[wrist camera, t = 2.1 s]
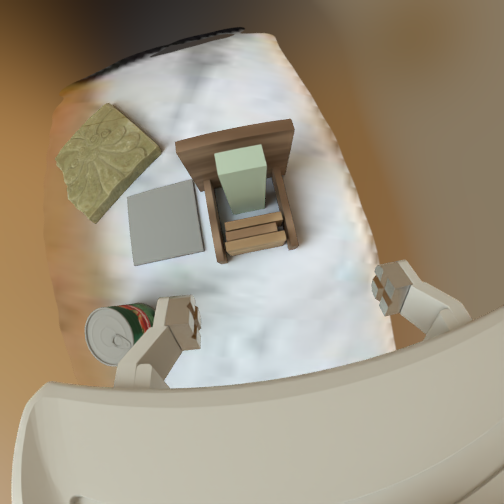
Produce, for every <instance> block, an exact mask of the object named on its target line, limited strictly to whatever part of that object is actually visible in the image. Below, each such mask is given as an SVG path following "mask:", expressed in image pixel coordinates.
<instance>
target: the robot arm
mask: <svg viewBox="0 0 504 504" xmlns="http://www.w3.org/2000/svg"><path fill="white" fill-rule="evenodd" d="M375 274H376V276H375V277H374V278H373V280H372V292H373V295H374V297H375V299H377V300H378V301H380V304H379V306H380V308H381V310H382V312H383V314H384V316H388V315H392V314H396V313H400V314H401V315H402V316H404V317H405V318H406V319H407V320H409V321H410V322H411V323H413V324H414V325H415V326H416V327H418V328H419V329H420V330H421V331H422V332H424V333H425V334H426V337H425V338H424V340H423V341H422V342H419V343H416V344H413V345H411V346H408V347H405V348H402V349H399V350H396V351H393V352H390V353H386V354H383V355H380V356H376V357H373V358H370V359H366V360H362V361H359V362H355V363H351V364H347V365H343V366H339V367H335V368H331V369H326V370H322V371H317V372H312V373H307V374H302V375H297V376H292V377H286V378H280V379H274V380H267V381H260V382H252V383H244V384H235V385H225V386H213V387H199V388H176V389H170V388H169V386H168V385H167V384H166V383H165V382H164V380H165V378H166V377H167V375H168V373H169V372H170V370H171V369H172V367H173V365H174V364H175V362H176V361H177V359H178V358H179V356H180V354H181V353H182V351H184V350H194V349H201V335H200V333H199V330H200V329H201V316H200V312H199V309H198V307H197V306H195V298H194V296H193V295H182V296H171V297H162V298H159V299H158V301H157V306H156V311H155V317H154V322H153V327H150V328H149V329H148V330H147V331H146V332H145V333H144V334H143V335H142V337H141V338H140V339H139V340H138V341H137V342H136V343H135V345H134V346H133V347H132V348H131V349H130V350H129V351H128V352H127V354H126V355H125V356H124V357H123V358H122V359H121V360H120V362H119V363H118V366H117V371H116V377H115V382H114V388H110V387H96V386H85V385H76V384H68V383H61V382H53V381H52V382H47V383H46V384H45V385H44V386H42V387H41V388H40V389H39V390H38V391H37V392H36V393H35V394H34V395H33V396H32V397H31V399H30V400H29V401H28V402H27V404H26V406H25V408H24V411H23V414H22V417H21V421H20V425H19V429H18V433H17V438H16V444H15V450H14V457H13V467H12V504H504V305H502V306H500V307H498V308H496V309H495V310H493V311H491V312H489V313H487V314H485V315H483V316H481V317H479V318H477V319H474V320H472V318H471V317H470V315H469V313H468V312H467V310H466V309H465V307H464V306H463V304H462V303H461V302H460V301H458V300H456V299H454V298H453V297H451V296H449V295H448V294H446V293H444V292H442V291H440V290H439V289H437V288H435V287H433V286H431V285H429V284H428V283H426V282H422V281H421V280H420V279H419V277H418V276H417V274H416V273H415V271H414V270H413V269H412V267H411V266H410V265H409V263H408V262H407V261H406V260H400V261H396V262H391V263H387V264H382V265H377V267H376V268H375Z"/></svg>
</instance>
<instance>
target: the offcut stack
mask: <svg viewBox="0 0 504 504" xmlns="http://www.w3.org/2000/svg"><path fill="white" fill-rule="evenodd" d="M282 220H283V218H282V214H281V211H280V212H275V213H270V214H265V215H260V216H255V217H250V218H245V219H240V220H235V221H230V222H226V223H225V229H226V233H225V234H226V240H227V242H225V246H226V251H227V252H228V253H229V254H230V255H231V256H235V255H239V254H244V253H249V252H254V251H259V250H264V249H269V248H274V247H278V246H283V244H284V242H285V241H286V235H285V231H284V230H283V231H278V230H277V227H280V226H281V223H282ZM277 231H278V232H277Z"/></svg>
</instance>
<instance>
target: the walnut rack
mask: <svg viewBox="0 0 504 504" xmlns="http://www.w3.org/2000/svg"><path fill="white" fill-rule="evenodd" d="M294 130H295V129H294V126H293V123H292V120H291V119H285V120H278V121H271V122H265V123H259V124H253V125H247V126H242V127H237V128H232V129H227V130H222V131H217V132H213V133H209V134H204V135H200V136H196V137H192V138H188V139H184V140H181V141H177V142H175V146H176V153H177V155H178V157H179V158H180V160H181V161H182V163H183V165H184V166H185V168H186V169H187V171H188V173H189V174H190V176H191V177H192V179H193V181H194V182H195V184H196V185H197V187H198V189H199V190H200V192H202V191H205V196H206V202H207V208H208V214H209V220H210V225H211V231H212V237H213V242H214V248H215V253H216V258H217V262H218V263H220V264H225V263H228V262H227V257H226V252H225V247H224V241H223V236H222V231H221V225H220V220H219V214H218V209H217V203H216V197H215V192H214V189H215V188H220V187H222V184H221V182H220V179H219V177H218V173H217V167H216V161H215V156H214V154H215V153H219V152H224V151H229V150H234V149H239V148H244V147H249V146H254V145H260V144H261V145H262V149H263V153H264V157H265V161H266V165H267V170H266V178H269V177H272V181H273V185H274V189H275V193H276V197H277V201H278V205H279V210H280V211H281V214H282V218H283V220H282V222H283V227H284V231H285V235H286V240H287V245H288V249H289V250H293V249H296V248H297V247H298V245H299V244H298V240H297V236H296V231H295V227H294V223H293V219H292V214H291V210H290V206H289V202H288V198H287V194H286V190H285V186H284V182H283V178H282V175H285V173H286V168H287V164H288V159H289V154H290V149H291V145H292V140H293V135H294Z"/></svg>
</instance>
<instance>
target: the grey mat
mask: <svg viewBox="0 0 504 504" xmlns="http://www.w3.org/2000/svg"><path fill="white" fill-rule="evenodd" d="M127 203H128V216H129V227H130V237H131V246H132V254H133V262H134V266H138V265H142V264H147V263H151V262H156V261H161V260H165V259H170V258H175V257H179V256H184V255H189V254H193V253H198V252H203V251H204V247H203V242H202V236H201V230H200V224H199V218H198V211H197V205H196V198H195V192H194V185H193V180H192V179H191V180H187V181H183V182H179V183H176V184H172V185H168V186H164V187H161V188H157V189H153V190H150V191H146V192H143V193H140V194H136V195H133V196H130V197H127Z"/></svg>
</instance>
